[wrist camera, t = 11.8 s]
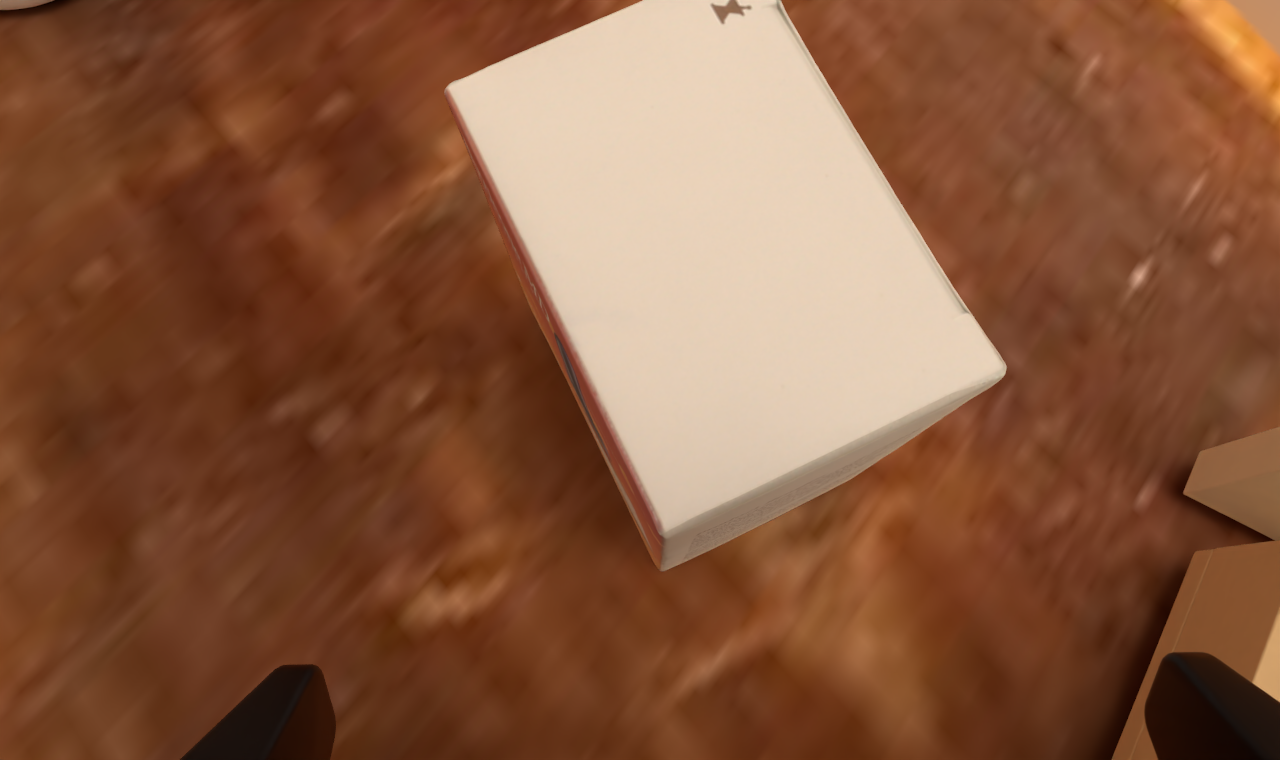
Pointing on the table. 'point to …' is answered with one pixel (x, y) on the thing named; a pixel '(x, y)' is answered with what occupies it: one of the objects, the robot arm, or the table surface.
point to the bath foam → (20, 4)
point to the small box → (715, 264)
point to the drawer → (1226, 579)
